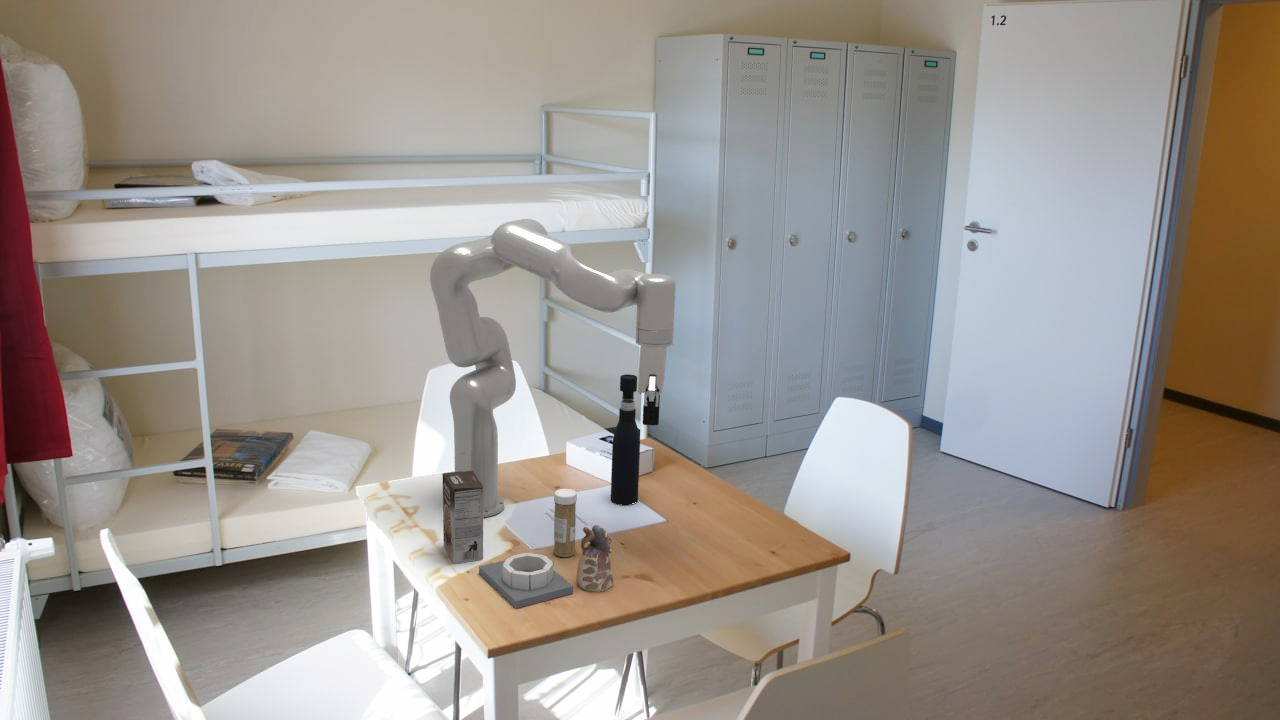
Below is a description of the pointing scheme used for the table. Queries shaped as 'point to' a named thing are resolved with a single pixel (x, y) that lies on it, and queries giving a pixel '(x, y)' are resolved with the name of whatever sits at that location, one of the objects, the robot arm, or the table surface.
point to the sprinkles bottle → (564, 522)
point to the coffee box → (463, 516)
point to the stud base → (524, 594)
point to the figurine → (595, 561)
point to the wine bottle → (626, 447)
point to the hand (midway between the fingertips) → (651, 417)
